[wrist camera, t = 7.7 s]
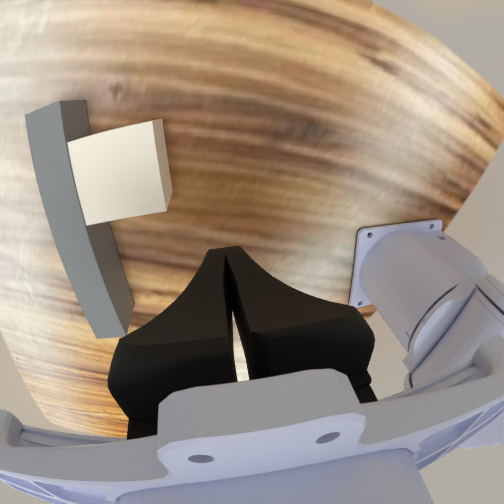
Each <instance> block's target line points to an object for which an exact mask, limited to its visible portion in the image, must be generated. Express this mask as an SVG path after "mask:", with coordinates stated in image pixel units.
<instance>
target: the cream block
mask: <svg viewBox="0 0 504 504" xmlns="http://www.w3.org/2000/svg"><path fill="white" fill-rule="evenodd" d="M67 144H68V150H69V155H70V160H71V165H72V170H73V175H74V179H75V183H76V188H77V192H78V196H79V200H80V204H81V208H82V211H83V215H84V219H85V222H86V226H87V225H92V224H97V223H102V222H107V221H113V220H118V219H124V218H129V217H135V216H141V215H146V214H152V213H158V212H165V211H167V208H168V205H169V202H170V199H171V196H172V193H173V189H172V183H171V177H170V170H169V164H168V157H167V150H166V143H165V136H164V128H163V120H162V119H157V120H152V121H147V122H142V123H137V124H132V125H128V126H123V127H119V128H115V129H111V130H107V131H103V132H99V133H96V134H92V135H89V136H86V137H82V138H79V139H76V140H73V141H70V142H67Z"/></svg>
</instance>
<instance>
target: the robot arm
mask: <svg viewBox="0 0 504 504" xmlns="http://www.w3.org/2000/svg"><path fill="white" fill-rule="evenodd" d="M430 225H431V226H430ZM441 228H442V221H441V220H439V219H433V220H425V221H417V222H409V223H402V224H394V225H386V226H378V227H370V228H363V229H361V230H360V231H359V232H358V235H357V245H356V254H355V263H354V271H353V279H352V287H351V294H350V300H349V305H345V304H340V303H335V302H330V301H327V300H323V299H320V298H317V297H314V296H311V295H308V294H305V293H303V292H301V291H299V290H296V289H294V288H292V287H290V286H288V285H286V284H284V283H283V282H281V281H279V280H278V279H276V278H274V277H273V276H271V275H270V274H269V273H267V272H266V271H265V270H264V269H263V268H261V267H260V266H259V265H258V264H257V263H256V262H255V261H254V260H253V259H252V258H251V257H250V256H249V255H248V254H247V253H246V252H245V251H244V250H243V249H242V248H241V247H240V246H233V247H225V248H217V249H209V250H208V251H207V253H206V255H205V258H204V260H203V262H202V264H201V266H200V267H199V269H198V271H197V272H196V274H195V276H194V277H193V279H192V280H191V282H190V283H189V284H188V286H187V287H186V289H185V290H184V291H183V292H182V294H181V295H180V296H179V297H178V298H177V299H176V300H175V301H174V302H173V303H172V304H171V305H170V306H169V307H167V308H166V309H165V310H164V311H163V312H162V313H161V314H159V315H158V316H157V317H155V318H154V319H153V320H151V321H150V322H148V323H147V324H145V325H144V326H142V327H140V328H139V329H137V330H135V331H133V332H131V333H130V334H128V335H126V336H124V337H122V338H120V339H119V342H118V344H117V347H116V349H115V352H114V355H113V358H112V362H111V366H110V371H109V375H108V388H109V391H110V393H111V395H112V396H113V398H114V399H115V401H116V402H117V403H118V405H119V406H120V408H121V409H122V410H123V412H124V413H125V414H126V416H127V417H128V418H129V422H128V431H127V438H113V437H99V436H89V435H79V434H71V433H64V432H57V431H52V430H46V429H40V428H35V427H31V426H26V425H22V423H21V422H20V421H19V419H17V418H16V417H15V416H14V415H13V414H12V413H10V412H8V411H6V410H2V409H0V480H1V481H3V482H4V483H6V484H7V485H9V486H10V487H12V488H14V489H15V490H18V491H20V492H23V493H25V494H28V495H31V496H33V497H36V498H39V499H41V500H44V501H47V502H50V503H53V504H434V503H433V500H432V498H431V496H430V494H429V492H428V489H427V487H426V485H425V483H424V481H423V479H422V476H421V474H420V472H419V470H421V469H423V468H425V467H426V466H428V465H430V464H432V463H433V462H435V461H437V460H438V459H440V458H441V457H443V456H445V455H446V454H448V453H449V452H451V451H452V450H454V449H455V448H457V447H459V448H460V449H471V448H479V447H485V446H490V445H496V444H504V284H503V283H502V282H501V281H500V280H498V279H497V278H496V277H494V276H493V275H491V274H489V275H488V272H487V270H486V268H485V266H484V264H483V263H482V262H481V260H480V259H479V258H478V257H476V256H475V255H474V254H472V253H471V252H470V251H468V250H467V249H466V248H464V247H463V246H462V245H460V244H459V243H458V242H456V241H455V240H454V239H452V238H451V237H449V236H448V235H446V234H445V233H444V232H442V231H441ZM369 232H370V235H369V236H367V235H368V233H369ZM358 302H359V303H358ZM371 304H373V305H374V307H375V308H376V309H377V311H378V312H379V313H380V314H381V316H382V317H383V319H384V320H385V321H386V323H387V324H388V326H389V327H390V328H391V330H392V331H393V333H394V334H395V335H396V337H397V338H398V340H399V341H400V342H401V344H402V345H403V347H404V348H405V349H406V351H407V353H408V354H407V356H406V357H405V359H404V360H403V362H404V364H405V365H406V367H407V369H408V370H409V373H408V374H407V375H406V377H405V379H404V390H405V391H402V392H400V393H397V394H394V395H392V396H389V397H386V398H384V399H381V400H377V398H376V396H375V394H374V392H373V390H372V388H371V387H370V385H369V384H370V383H371V377H370V375H369V373H368V371H367V367H368V365H369V361H370V358H371V355H372V352H373V349H374V343H375V337H374V333H373V331H372V330H371V328H370V326H369V325H368V323H367V322H366V320H365V319H364V318H363V316H362V315H361V314H360V313H359V311H358V310H357V309H356V308H358V307H363V306H367V305H371ZM232 311H233V314H234V318H235V322H236V325H237V329H238V332H239V336H240V339H241V343H242V346H243V350H244V354H245V358H246V363H247V369H248V374H249V380H248V381H241V382H238V381H237V374H236V368H235V361H234V349H233V321H232Z"/></svg>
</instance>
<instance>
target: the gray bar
mask: <svg viewBox="0 0 504 504" xmlns="http://www.w3.org/2000/svg"><path fill="white" fill-rule="evenodd" d="M25 118H26V126H27V132H28V139H29V145H30V150H31V155H32V160H33V165H34V170H35V174H36V179H37V183H38V187H39V191H40V195H41V198H42V202H43V206H44V209H45V213H46V216H47V219H48V222H49V226H50V229H51V232H52V235H53V238H54V241H55V244H56V246H57V249H58V252H59V255H60V257H61V260H62V263H63V265H64V268H65V270H66V273H67V275H68V278H69V280H70V283H71V285H72V287H73V290H74V292H75V294H76V297H77V299H78V301H79V303H80V305H81V308H82V310H83V312H84V314H85V316H86V318H87V320H88V322H89V324H90V326H91V328H92V330H93V332H94V334H95V336H96V338H112V337H124V336H126V335H127V332H128V328H129V323H130V319H131V315H132V311H133V307H134V304H135V302H134V299H133V297H132V294H131V291H130V288H129V285H128V282H127V279H126V276H125V273H124V270H123V267H122V264H121V261H120V258H119V254H118V251H117V248H116V244H115V241H114V238H113V234H112V230H111V227H110V223H109V221H107V222H102V223H97V224H92V225H87V226H86V222H85V219H84V215H83V211H82V208H81V204H80V200H79V196H78V192H77V188H76V183H75V179H74V175H73V170H72V165H71V160H70V155H69V150H68V144H67V142H70V141H73V140H76V139H79V138H82V137H86V136H89V135H91V134H90V128H89V121H88V113H87V106H86V100H75V101H58V102H56V103H53V104H50V105H48V106H45V107H43V108H40V109H38V110H36V111H33V112H31V113H29V114H26V115H25Z"/></svg>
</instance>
